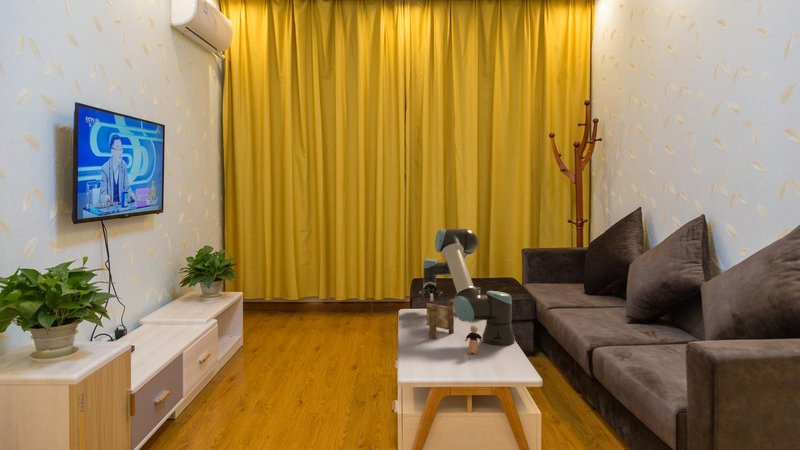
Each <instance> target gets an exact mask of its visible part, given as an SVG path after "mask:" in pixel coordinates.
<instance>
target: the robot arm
mask: <svg viewBox="0 0 800 450" xmlns="http://www.w3.org/2000/svg"><path fill="white" fill-rule="evenodd" d="M478 247H479V239H478V236H477V235H476V233H475V232H473V231H472V230H470V229H467V228H454V229H453V228H449V229H448V228H447V229H446V228H444V229H439V230H437V232H436V235H435V238H434V248H435V251H436V253H441V256H442V257H443V258H444V259H445V260H446V262H445V261H444V262H443V261H440V262H439V261H438V262H437V260H436V259H435V258H427V259H424V260H423V266H422V268H423V269H422V271H423V273H422V274H423V280H422V288H423V289H419V293H418V294H419V295H421V296H422V297H423V298H424V299H425V298H427V300H430V302H434V299H439V298H440V296H442V295H443V290H442V289H437V288H438V287H437V276H451V278H452V281H453V285H454V287H455V290H456V294H455V296H454V299H453V300H454V303H453V304H454V315H455V316H456V318H457V319H458V320H460V321H462V322H473V321H474V322H475V321H486V323H485V327H484V330H483V333H482V336H481V337H482V340H483V342H484V343H485V344H490V345H496V346H507V345H508V346H509V345H512V344H514V343H515V342H516V336H515V334H514V329H513V327H512V310H513V309H512V305H513V302H512V301H513V299H512V296H511V295H510V294H509V293H506V292H504V291H503V292H502V291H497V290H496V291H495V290H487V291H486V294H481V292H480V293H479V290H478V289H476V288H474V286H475V284H474V283H473V280H472V278H471V274H470V272H469V269H468V266H467V263H466V260H467V259H468V257H469V256H470V255H473V254H474V253H475V252H476V251H477V249H478Z"/></svg>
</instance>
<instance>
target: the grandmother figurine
mask: <svg viewBox="0 0 800 450" xmlns="http://www.w3.org/2000/svg"><path fill="white" fill-rule="evenodd" d="M469 329H470V332H469V333H468V334H467V335H466V337H465V340H464V341H465V342H467V341H468V340H469V341H468V351H467V355H472V354H473V355H478V347H479V343H478V342H479V341H480V342H481V343H483V342H484V341H483V340H482V336H481V335H480V334H479V333H477V332H478V329H479V328H478V327H477V325H475V324H472V325H470V327H469ZM478 340H479V341H478Z"/></svg>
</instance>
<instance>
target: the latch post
mask: <svg viewBox="0 0 800 450" xmlns="http://www.w3.org/2000/svg"><path fill="white" fill-rule="evenodd" d="M428 310H429V326H428V338H429V339H430V340H436V339H437V327H436V311H437V310H438V308H436V307H428Z"/></svg>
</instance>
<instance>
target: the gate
mask: <svg viewBox="0 0 800 450" xmlns="http://www.w3.org/2000/svg"><path fill="white" fill-rule="evenodd" d="M425 306H426V323H425V325H426V326H428V327H429V310H428V307H436V308H438V310H437V311H436V329H437V328H439V329H442V330H448V331H449V306H447V305H446V306H445V305H441V304H435V303H426V304H425Z"/></svg>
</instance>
